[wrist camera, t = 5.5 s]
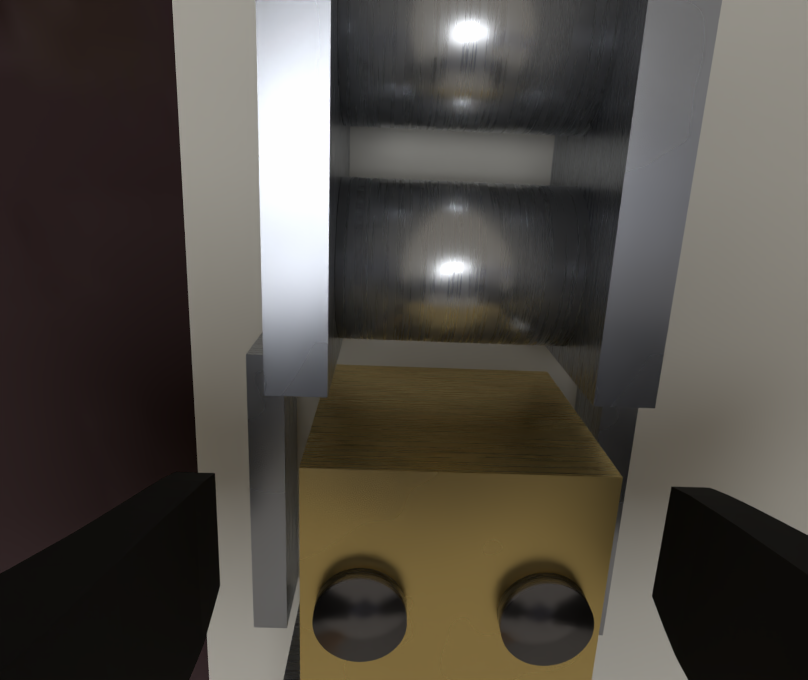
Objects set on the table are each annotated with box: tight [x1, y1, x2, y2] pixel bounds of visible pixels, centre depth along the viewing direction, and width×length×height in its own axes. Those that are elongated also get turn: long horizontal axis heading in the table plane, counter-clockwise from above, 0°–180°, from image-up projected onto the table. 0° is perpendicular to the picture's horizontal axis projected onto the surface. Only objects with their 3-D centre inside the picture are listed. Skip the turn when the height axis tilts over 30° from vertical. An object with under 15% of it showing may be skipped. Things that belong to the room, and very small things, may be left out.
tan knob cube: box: [299, 364, 623, 680], centre depth 10 cm, size 4×4×4 cm
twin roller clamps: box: [246, 0, 722, 680], centre depth 11 cm, size 6×18×4 cm, turn 177°
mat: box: [172, 0, 808, 680], centre depth 12 cm, size 14×18×1 cm
